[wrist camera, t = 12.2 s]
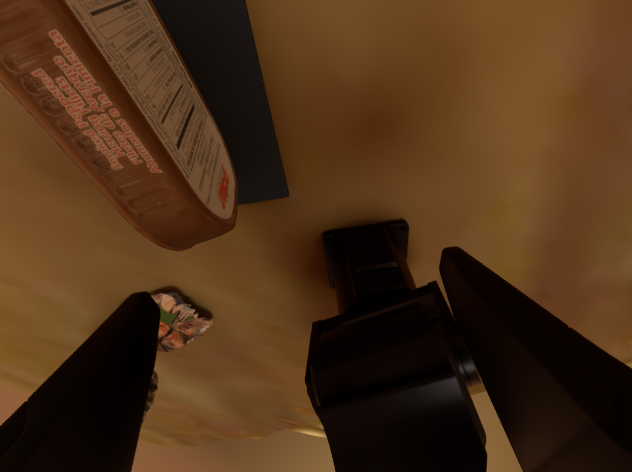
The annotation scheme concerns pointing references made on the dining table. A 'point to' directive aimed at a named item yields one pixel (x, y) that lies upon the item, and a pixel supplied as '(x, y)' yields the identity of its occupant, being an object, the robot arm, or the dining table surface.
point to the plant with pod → (174, 331)
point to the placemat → (230, 88)
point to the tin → (123, 112)
